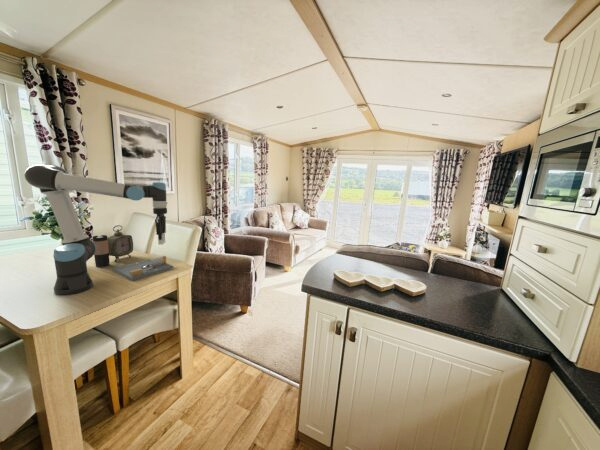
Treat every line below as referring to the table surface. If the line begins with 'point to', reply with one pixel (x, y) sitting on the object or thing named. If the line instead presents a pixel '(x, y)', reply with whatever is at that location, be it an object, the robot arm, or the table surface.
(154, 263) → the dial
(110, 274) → the table surface
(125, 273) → the panel
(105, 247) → the travel mug
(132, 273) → the screwdriver
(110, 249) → the tabletop clock
